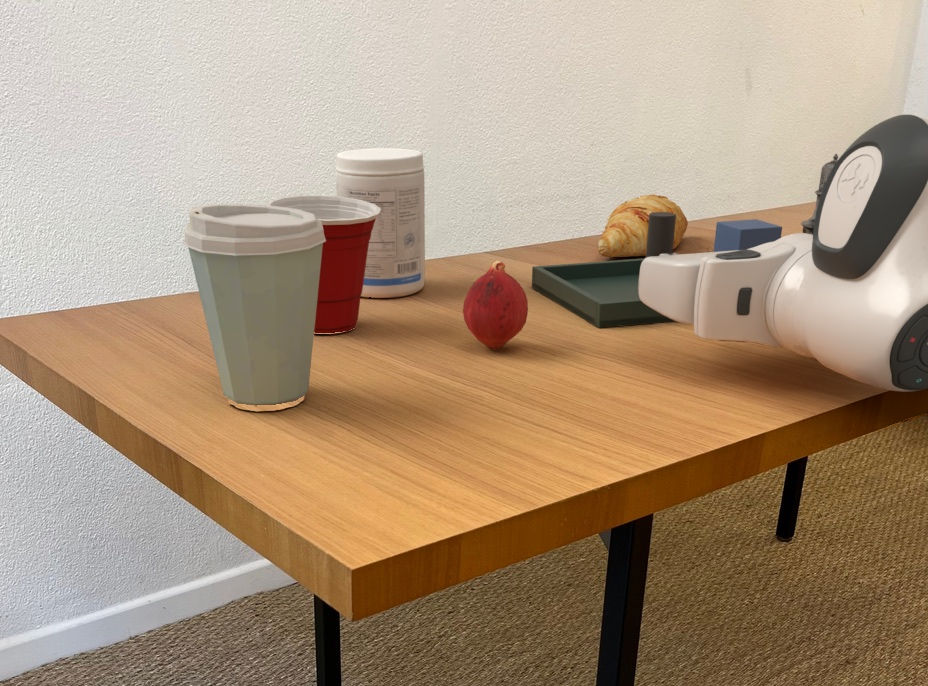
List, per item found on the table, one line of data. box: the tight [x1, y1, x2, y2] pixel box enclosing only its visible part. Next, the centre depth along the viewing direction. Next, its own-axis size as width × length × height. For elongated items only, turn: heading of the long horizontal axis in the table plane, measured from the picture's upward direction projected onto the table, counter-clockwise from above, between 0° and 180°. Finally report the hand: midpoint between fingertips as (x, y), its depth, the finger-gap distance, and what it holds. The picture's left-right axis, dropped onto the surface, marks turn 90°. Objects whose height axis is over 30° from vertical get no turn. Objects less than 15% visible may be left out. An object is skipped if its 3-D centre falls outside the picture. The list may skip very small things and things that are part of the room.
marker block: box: [713, 218, 783, 252], centre depth 115 cm, size 5×5×7 cm
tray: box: [531, 212, 676, 329], centre depth 110 cm, size 16×18×10 cm
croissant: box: [597, 194, 689, 258], centre depth 135 cm, size 21×10×8 cm, turn 142°
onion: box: [462, 260, 529, 350], centre depth 94 cm, size 6×6×8 cm
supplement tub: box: [335, 147, 426, 299], centre depth 115 cm, size 10×10×15 cm
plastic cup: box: [266, 195, 381, 333], centre depth 101 cm, size 11×11×12 cm
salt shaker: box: [800, 153, 840, 235], centre depth 131 cm, size 6×6×12 cm
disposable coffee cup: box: [183, 203, 326, 406], centre depth 81 cm, size 11×11×15 cm
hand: (712, 258), depth 96 cm, fingers open, 8 cm apart
